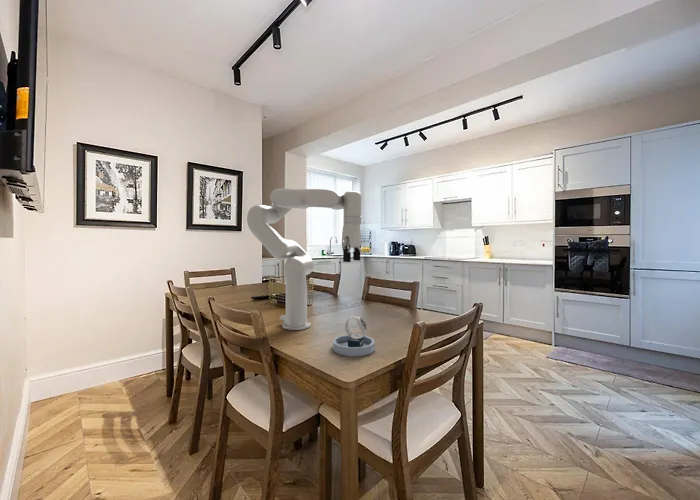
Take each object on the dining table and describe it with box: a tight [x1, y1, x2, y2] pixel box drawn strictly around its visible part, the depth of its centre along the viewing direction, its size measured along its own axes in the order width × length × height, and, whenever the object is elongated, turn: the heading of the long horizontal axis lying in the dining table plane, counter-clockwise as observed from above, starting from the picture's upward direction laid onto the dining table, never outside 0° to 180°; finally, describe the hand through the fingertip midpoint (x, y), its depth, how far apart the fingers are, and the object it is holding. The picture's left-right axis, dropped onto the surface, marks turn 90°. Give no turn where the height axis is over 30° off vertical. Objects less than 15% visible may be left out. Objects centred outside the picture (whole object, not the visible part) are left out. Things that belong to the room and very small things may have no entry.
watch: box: [344, 315, 368, 347], centre depth 118 cm, size 6×8×11 cm
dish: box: [332, 334, 376, 357], centre depth 119 cm, size 15×15×3 cm
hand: (351, 261), depth 139 cm, fingers open, 9 cm apart
